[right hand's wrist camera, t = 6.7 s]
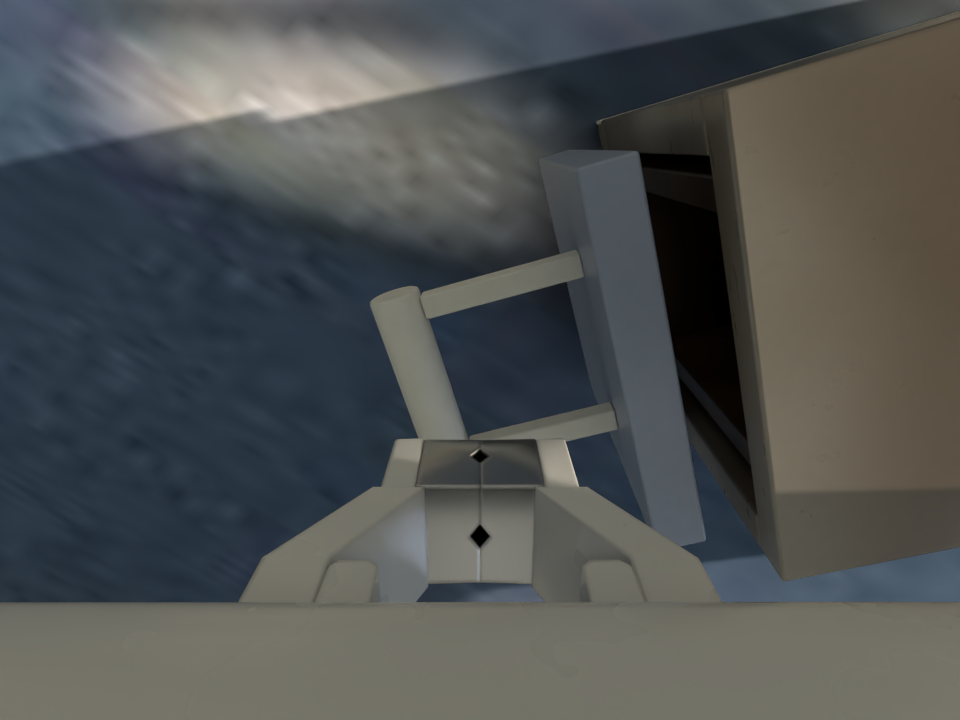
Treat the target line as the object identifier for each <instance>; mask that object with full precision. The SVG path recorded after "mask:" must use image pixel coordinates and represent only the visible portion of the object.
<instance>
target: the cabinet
mask: <svg viewBox="0 0 960 720" xmlns="http://www.w3.org/2000/svg"><path fill="white" fill-rule="evenodd" d="M596 124H597V126H598V131H599V136H600V141H601V146H602V150H618V151H638V153H639V155H640V160H642V159H645V158H649V157H652V156H655V155H659V154H675V155H701V156H710V162H711V170H712V177H713V185H714V192H715V200H716V207H717V215H718V222H719V230H720V237H721V245H722V252H723V260H724V267H725V275H726V282H727V290H728V297H729V305H730V312H731V320H732V327H733V335H734V342H735V350H736V357H737V365H738V372H739V380H740V387H741V395H742V402H743V409H744V417H745V424H746V432H747V439H748V447H749V454H750V462H751V466H750V464H749V463H748V462H747V461H746V460H745V458H744V457H743V456H742V455H741V453H740V452H739V451H738V450H737V448H736V447H735V446H734V445H733V443H732V442H731V441H730V440H729V438H728V437H727V436H726V435H725V433H724V432H723V431H722V430H721V428H720V427H719V426H718V425H717V423H716V422H715V421H714V420H713V418H712V417H711V416H710V415H709V413H708V412H707V411H706V410H705V408H704V407H703V406H702V405H701V404H700V402H699V401H698V400H697V399H696V397H695V396H694V395H693V394H692V392H691V391H690V390H689V389H688V387H687V386H686V385H685V384H684V382H683V381H682V380H681V379H680V377H679V376H678V379H679V384H680V390H681V396H682V402H683V407H684V413H685V419H686V424H687V430H688V436H689V441H690V442H691V444H692V445H693V447H694V448H695V450H696V451H697V453H698V454H699V456H700V457H701V459H702V460H703V462H704V463H705V465H706V466H707V468H708V469H709V471H710V472H711V474H712V475H713V477H714V478H715V480H716V481H717V483H718V484H719V486H720V487H721V489H722V490H723V492H724V493H725V495H726V496H727V498H728V499H729V501H730V502H731V504H732V505H733V507H734V508H735V510H736V511H737V513H738V514H739V516H740V517H741V519H742V520H743V522H744V523H745V525H746V526H747V528H748V529H749V531H750V532H751V534H752V535H753V537H754V538H755V540H756V541H757V543H758V544H759V546H760V547H761V548H762V551H763V552H764V554H765V555H766V557H767V558H768V560H769V561H770V563H771V564H772V566H773V567H774V569H775V570H776V572H777V573H778V575H779V576H780V578H781V579H782V580H783V581H789V580H794V579H799V578H804V577H809V576H814V575H819V574H825V573H830V572H835V571H840V570H845V569H850V568H855V567H860V566H865V565H871V564H876V563H881V562H886V561H891V560H896V559H901V558H906V557H912V556H917V555H922V554H927V553H932V552H937V551H942V550H947V549H952V548H958V547H960V11H958V12H955V13H951V14H948V15H945V16H942V17H938V18H935V19H932V20H928V21H925V22H922V23H918V24H915V25H912V26H909V27H905V28H902V29H899V30H895V31H892V32H889V33H885V34H882V35H879V36H876V37H872V38H869V39H866V40H862V41H859V42H856V43H853V44H849V45H846V46H843V47H839V48H836V49H833V50H829V51H826V52H823V53H820V54H816V55H813V56H810V57H806V58H803V59H800V60H797V61H793V62H790V63H787V64H783V65H780V66H777V67H773V68H770V69H767V70H764V71H760V72H757V73H754V74H750V75H747V76H744V77H741V78H737V79H734V80H731V81H727V82H724V83H721V84H717V85H714V86H711V87H708V88H704V89H701V90H698V91H694V92H691V93H688V94H685V95H681V96H678V97H675V98H671V99H668V100H665V101H661V102H658V103H655V104H652V105H648V106H645V107H642V108H638V109H635V110H632V111H629V112H625V113H622V114H619V115H615V116H612V117H609V118H605V119H602V120H599V121H596Z"/></svg>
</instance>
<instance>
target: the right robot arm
mask: <svg viewBox="0 0 960 720" xmlns="http://www.w3.org/2000/svg"><path fill="white" fill-rule="evenodd" d="M479 582H480V583H516V584H532V587H533V588H534V590H535V591H536V592H537V593H538V594H539V596H540V597H541V598H542V599H543V601H544V602H416V601H417V600H418V599H419V597H420V596H421V595H422V594H423V593H424V591H425V590H426V589H427V588H428V584H444V583H479ZM0 720H960V602H722V601H721V599H720V597H719V595H718V594H717V592H716V590H715V588H714V586H713V584H712V582H711V581H710V579H709V577H708V575H707V573H706V571H705V569H704V567H703V566H702V564H701V562H700V560H699V558H697V557H696V556H694V555H693V554H691V553H690V552H688V551H686V550H685V549H683V548H682V547H680V546H679V545H677V544H676V543H674V542H672V541H671V540H669V539H668V538H666V537H665V536H663V535H662V534H660V533H658V532H657V531H655V530H654V529H652V528H651V527H649V526H647V525H646V524H644V523H643V522H641V521H640V520H638V519H637V518H635V517H633V516H632V515H630V514H629V513H627V512H626V511H624V510H622V509H621V508H619V507H618V506H616V505H615V504H613V503H612V502H610V501H608V500H607V499H605V498H604V497H602V496H601V495H599V494H597V493H596V492H594V491H593V490H591V489H590V488H588V487H579V485H578V481H577V478H576V475H575V471H574V468H573V465H572V462H571V458H570V455H569V452H568V448H567V445H566V442H565V440H564V439H562V438H557V439H536V440H535V439H507V440H450V439H425V440H424V439H423V438H418V439H397V440H395V441H394V444H393V448H392V451H391V454H390V458H389V461H388V465H387V468H386V471H385V475H384V478H383V481H382V485H381V487H372V488H370V489H369V490H367V491H366V492H364V493H362V494H361V495H359V496H358V497H356V498H355V499H353V500H352V501H350V502H348V503H347V504H345V505H344V506H342V507H341V508H339V509H337V510H336V511H334V512H333V513H331V514H330V515H328V516H326V517H325V518H323V519H322V520H320V521H319V522H317V523H315V524H314V525H312V526H311V527H309V528H308V529H306V530H304V531H303V532H301V533H300V534H298V535H297V536H295V537H293V538H292V539H290V540H289V541H287V542H286V543H284V544H282V545H281V546H279V547H278V548H276V549H275V550H273V551H272V552H270V553H268V554H267V555H265V556H264V557H262V559H261V561H260V562H259V564H258V566H257V568H256V570H255V572H254V573H253V575H252V577H251V579H250V581H249V583H248V585H247V586H246V588H245V590H244V592H243V594H242V596H241V597H240V599H239V601H238V602H0Z"/></svg>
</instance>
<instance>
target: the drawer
mask: <svg viewBox="0 0 960 720" xmlns="http://www.w3.org/2000/svg"><path fill="white" fill-rule="evenodd" d="M538 163H539V167H540V171H541V176H542V180H543V184H544V188H545V193H546V197H547V201H548V205H549V210H550V214H551V218H552V222H553V227H554V231H555V235H556V239H557V244H558V248H559V252H560V254H558V255H555V256H551V257H547V258H544V259H540V260H537V261H533V262H529V263H526V264H522V265H519V266H515V267H511V268H508V269H504V270H500V271H497V272H493V273H490V274H486V275H482V276H479V277H475V278H472V279H468V280H464V281H461V282H457V283H454V284H450V285H446V286H443V287H439V288H435V289H432V290H428V291H425V292H423V293H422V295H421V293H420V290H419V288H418V287H416V286H407V287H402V288H398V289H394V290H391V291H388V292H386V293H383V294H381V295H379V296H377V297H375V298H374V299H373V300H371V302H370V307H371V310H372V312H373V315H374V318H375V321H376V323H377V326H378V329H379V331H380V334H381V337H382V340H383V342H384V345H385V348H386V351H387V353H388V356H389V359H390V362H391V364H392V367H393V370H394V373H395V375H396V378H397V381H398V384H399V386H400V389H401V392H402V395H403V397H404V400H405V403H406V406H407V408H408V411H409V414H410V417H411V419H412V422H413V425H414V428H415V430H416V433H417V436H418V438H423V439H424V440H425V439H450V440H507V439H535V440H536V439H557V438H562V439H564V440H565V442H566V441H570V440H574V439H579V438H583V437H587V436H591V435H596V434H600V433H604V432H608V431H609V433H610V435H611V438H612V440H613V443H614V445H615V448H616V450H617V453H618V455H619V458H620V460H621V463H622V465H623V468H624V470H625V473H626V475H627V478H628V480H629V483H630V485H631V487H632V490H633V492H634V495H635V497H636V500H637V502H638V505H639V507H640V510H641V512H642V515H643V517H644V520H645V522H646V525H647V526H649V527H651V528H652V529H654V530H655V531H657V532H658V533H660V534H662V535H663V536H665V537H666V538H668V539H669V540H671V541H672V542H674V543H676V544H677V545H679V546H685V545H689V544H694V543H699V542H704V541H706V533H705V528H704V522H703V516H702V510H701V505H700V499H699V493H698V487H697V482H696V476H695V470H694V465H693V459H692V453H691V447H690V442H689V436H688V430H687V424H686V419H685V413H684V407H683V402H682V396H681V390H680V384H679V379H678V376H679V377H680V379H681V380H682V381H683V382H684V384H685V385H686V386H687V387H688V389H689V390H690V391H691V392H692V394H693V395H694V396H695V397H696V399H697V400H698V401H699V402H700V404H701V405H702V406H703V407H704V408H705V410H706V411H707V412H708V413H709V415H710V416H711V417H712V418H713V420H714V421H715V422H716V423H717V425H718V426H719V427H720V428H721V430H722V431H723V432H724V433H725V435H726V436H727V437H728V438H729V440H730V441H731V442H732V443H733V445H734V446H735V447H736V448H737V450H738V451H739V452H740V453H741V455H742V456H743V457H744V458H745V460H746V461H747V462H748V463H749V464H750V466H751V462H750V454H749V447H748V439H747V432H746V424H745V417H744V409H743V402H742V395H741V387H740V380H739V372H738V365H737V357H736V350H735V342H734V335H733V327H732V320H731V312H730V305H729V297H728V290H727V282H726V275H725V267H724V260H723V252H722V245H721V237H720V230H719V222H718V215H717V207H716V200H715V192H714V185H713V177H712V170H711V162H710V156H701V155H675V154H659V155H655V156H652V157H649V158H645V159H642V160H640V155H639V153H638V151H618V150H575V149H569V150H565V151H562V152H559V153H555V154H552V155H549V156H545V157H542V158H539V159H538ZM564 282H567V286H568V291H569V295H570V299H571V303H572V308H573V312H574V316H575V320H576V325H577V329H578V333H579V337H580V342H581V346H582V350H583V354H584V359H585V363H586V367H587V371H588V376H589V380H590V384H591V388H592V390H593V393H594V395H595V398H596V400H597V403H598V405H595V406H591V407H587V408H583V409H578V410H574V411H570V412H566V413H562V414H558V415H554V416H549V417H545V418H541V419H537V420H533V421H529V422H525V423H521V424H516V425H512V426H508V427H504V428H500V429H496V430H492V431H487V432H483V433H479V434H475V435H471V436H470V438H469V439H468V436H467V433H466V430H465V427H464V424H463V421H462V418H461V415H460V412H459V409H458V406H457V403H456V400H455V397H454V394H453V391H452V387H451V384H450V381H449V378H448V375H447V372H446V369H445V366H444V363H443V360H442V357H441V354H440V351H439V348H438V345H437V342H436V339H435V336H434V333H433V330H432V327H431V324H430V321H429V319H430V318H434V317H438V316H442V315H445V314H449V313H453V312H456V311H460V310H464V309H467V308H471V307H475V306H479V305H482V304H486V303H490V302H493V301H497V300H501V299H504V298H508V297H512V296H516V295H519V294H523V293H527V292H530V291H534V290H538V289H541V288H545V287H549V286H553V285H556V284H560V283H564Z"/></svg>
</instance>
